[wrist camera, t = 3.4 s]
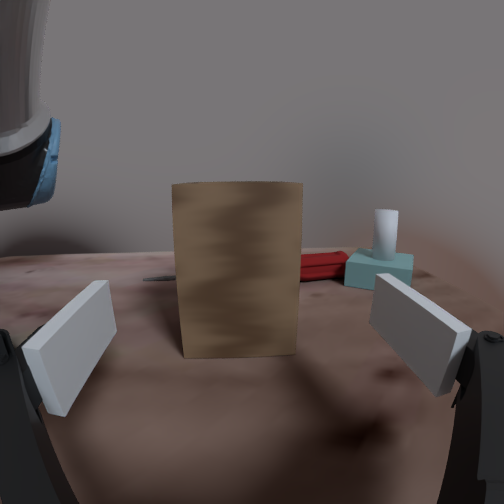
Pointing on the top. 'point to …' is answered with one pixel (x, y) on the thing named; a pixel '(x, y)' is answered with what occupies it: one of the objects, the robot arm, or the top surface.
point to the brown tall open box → (237, 267)
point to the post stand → (379, 255)
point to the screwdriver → (308, 267)
